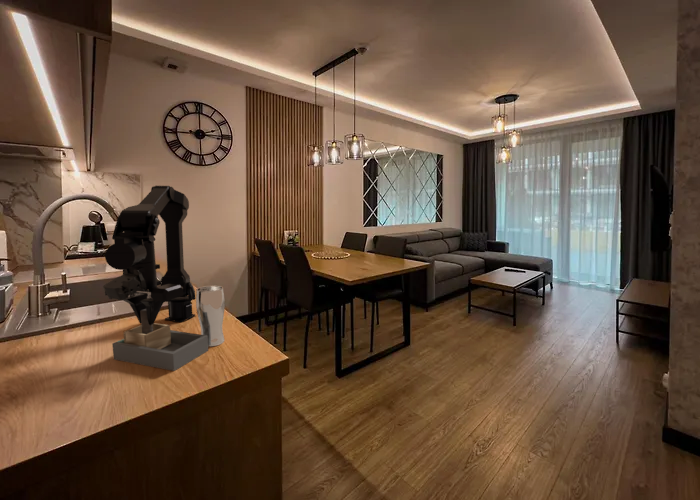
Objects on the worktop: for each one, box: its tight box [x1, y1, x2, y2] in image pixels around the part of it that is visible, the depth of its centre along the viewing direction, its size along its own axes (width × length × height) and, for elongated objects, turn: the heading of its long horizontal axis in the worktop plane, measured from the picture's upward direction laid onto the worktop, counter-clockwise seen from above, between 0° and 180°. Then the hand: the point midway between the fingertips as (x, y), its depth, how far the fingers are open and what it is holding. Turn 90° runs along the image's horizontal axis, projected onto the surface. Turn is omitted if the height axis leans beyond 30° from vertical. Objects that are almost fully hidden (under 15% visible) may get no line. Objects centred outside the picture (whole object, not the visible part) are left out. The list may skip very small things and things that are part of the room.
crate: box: [123, 309, 171, 349], centre depth 83 cm, size 7×7×10 cm
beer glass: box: [195, 284, 226, 348], centre depth 89 cm, size 7×7×15 cm
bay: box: [112, 329, 209, 372], centre depth 82 cm, size 18×11×4 cm, turn 73°
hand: (146, 323), depth 83 cm, fingers open, 2 cm apart
